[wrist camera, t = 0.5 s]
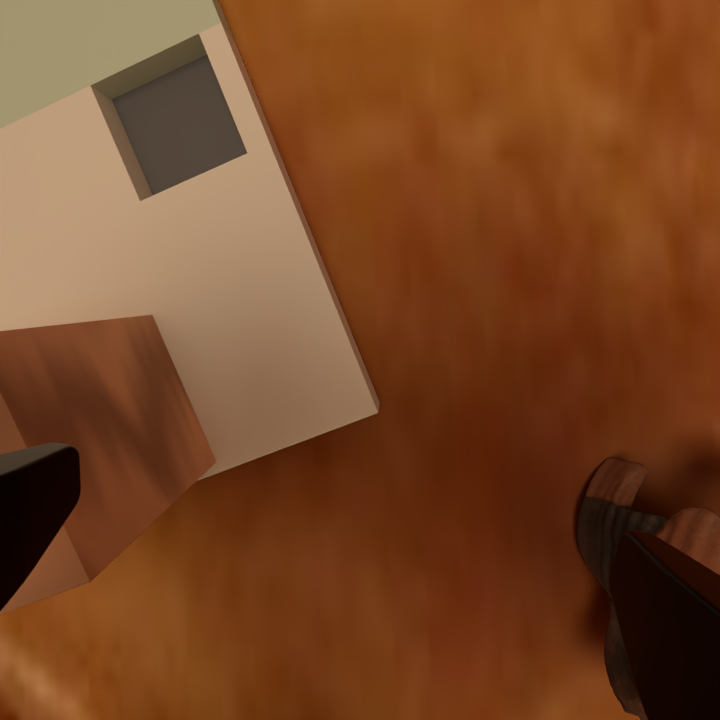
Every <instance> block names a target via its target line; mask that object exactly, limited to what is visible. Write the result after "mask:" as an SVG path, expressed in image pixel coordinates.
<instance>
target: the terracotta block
mask: <svg viewBox="0 0 720 720" xmlns="http://www.w3.org/2000/svg"><path fill="white" fill-rule="evenodd" d="M46 443H60V444H67V445H72V446H75V447H76V448H77V449H78V451H79V456H80V478H81V493H80V497H79V500H78V503H77V505H76V506H75V508H74V509H73V511H72V512H71V514H70V515H69V517H68V518H67V520H66V521H65V523H64V524H63V526H62V527H61V529H60V530H59V532H58V533H57V535H56V536H55V538H54V539H53V541H52V542H51V544H50V545H49V547H48V548H47V550H46V551H45V553H44V554H43V556H42V557H41V559H40V560H39V562H38V563H37V565H36V566H35V568H34V569H33V571H32V572H31V573H30V575H29V576H28V577H27V579H26V580H25V582H24V583H23V584H22V585H21V587H20V588H19V589H18V591H17V592H16V593H15V594H14V596H13V597H12V598H11V599H10V600H9V602H8V603H7V604H6V605H5V607H4V608H3V609H2V610H1V611H0V614H3V613H6V612H9V611H12V610H14V609H17V608H20V607H23V606H25V605H28V604H31V603H34V602H37V601H39V600H42V599H45V598H48V597H50V596H53V595H56V594H59V593H61V592H64V591H67V590H70V589H73V588H75V587H78V586H81V585H84V584H86V583H89V582H91V581H92V580H93V579H94V578H95V577H96V576H97V575H98V574H99V573H100V572H101V571H102V570H103V569H105V568H106V567H107V566H108V565H109V564H110V563H111V562H112V561H113V560H114V559H115V558H116V557H117V556H118V555H119V554H120V553H121V552H122V551H123V550H125V549H126V548H127V547H128V546H129V545H130V544H131V543H132V542H133V541H134V540H135V539H136V538H137V537H138V536H139V535H140V534H141V533H142V532H143V531H144V530H146V529H147V528H148V527H149V526H150V525H151V524H152V523H153V522H154V521H155V520H156V519H157V518H158V517H159V516H160V515H161V514H162V513H163V512H164V511H166V510H167V509H168V508H169V507H170V506H171V505H172V504H173V503H174V502H175V501H176V500H177V499H178V498H179V497H180V496H181V495H182V494H183V493H184V492H185V491H187V490H188V489H189V488H190V487H191V486H192V485H193V484H194V483H195V482H196V481H197V480H198V479H199V478H200V477H201V476H202V475H203V474H204V473H205V472H206V471H208V470H209V469H210V468H211V467H212V466H213V465H214V464H215V463H216V459H215V457H214V455H213V452H212V450H211V448H210V446H209V443H208V441H207V439H206V436H205V434H204V432H203V430H202V427H201V425H200V423H199V420H198V418H197V416H196V414H195V411H194V409H193V407H192V404H191V402H190V400H189V398H188V395H187V393H186V391H185V388H184V386H183V384H182V382H181V379H180V377H179V375H178V372H177V370H176V368H175V366H174V363H173V361H172V359H171V356H170V354H169V352H168V350H167V347H166V345H165V343H164V340H163V338H162V336H161V334H160V331H159V329H158V327H157V324H156V322H155V320H154V318H153V315H144V316H135V317H125V318H116V319H107V320H98V321H88V322H79V323H70V324H61V325H51V326H42V327H33V328H24V329H15V330H5V331H0V454H4V453H9V452H13V451H17V450H21V449H25V448H30V447H34V446H38V445H42V444H46Z"/></svg>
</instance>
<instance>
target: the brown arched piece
mask: <svg viewBox="0 0 720 720" xmlns="http://www.w3.org/2000/svg"><path fill="white" fill-rule="evenodd" d="M647 476H648V470H647V468H646V467H645V466H644V465H642V464H640V463H637V462H627V461H623V460H620V459H615V458H608V459H606V460H605V461H604V462H603V464H602V465H601V466H600V467H599V468H598V469H597V471H596V473H595V475H594V476H593V478H592V479H591V481H590V484H589V487H588V489H587V491H586V495H585V497H584V499H583V502H582V505H581V510H580V515H579V517H578V533H577V539H578V546H579V550H580V552H581V554H582V557H583V560H584V562H585V564H586V565H587V567H588V569H589V570H590V571H591V572H592V573H593V574H594V575H595V577H596V578H597V580H598V581H599V582H600V584H601V586H602V587H603V588H604V589H605V590H606V591H607V593H608V596H609V597H610V598H611V599H612V597H611V593H610V589H609V573H610V569H611V566H612V563H613V560H614V556H615V553H616V550H617V546H618V543H619V540H620V537H621V535H622V534H623V533H624V532H625V531H627V530H633V531H640V532H646V533H651V534H654V535H656V536H657V537H659V538H661V539H662V540H664V541H665V542H667V543H669V544H670V545H672V546H673V547H675V548H677V549H678V550H680V551H682V552H683V553H685V554H686V555H688V556H690V557H691V558H693V559H694V560H696V561H698V562H699V563H701V564H703V565H704V566H706V567H707V568H709V569H711V570H712V571H714V572H715V573H717V574H719V575H720V516H718V515H717V514H716V513H714V512H713V511H711V510H710V509H708V508H697V507H688V508H682V509H680V510H679V511H677V512H676V513H674V514H673V515H672V516H671V517H670V518H669V519H666V518H664V517H663V516H660V515H655V514H647V513H643V512H639V511H635V510H633V509H631V506H632V504H633V501H634V497H635V495H636V494H637V492H638V489H639V488H640V486H641V485H642V483H643V481H644V480H645V478H646V477H647ZM609 607H610V619H609V623H608V627H607V631H606V637H605V646H604V657H605V665H606V670H607V674H608V678H609V682H610V685H611V687H612V688H613V692H614V694H615V696H616V697H617V699H618V700H619V701H620V703H621V705H622V707H623V709H624V711H625V712H627V713H630V714H633V715H636V716H639V717H640V719H641V720H648V719H647V717H646V714H645V711H644V709H643V706H642V703H641V701H640V698H639V695H638V692H637V689H636V686H635V683H634V680H633V677H632V674H631V670H630V667H629V663H628V659H627V655H626V651H625V647H624V643H623V640H622V636H621V632H620V628H619V624H618V620H617V616H616V612H615V609H614V605H613V601H612V600H609Z"/></svg>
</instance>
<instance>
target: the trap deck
mask: <svg viewBox="0 0 720 720" xmlns="http://www.w3.org/2000/svg"><path fill="white" fill-rule="evenodd" d="M199 35H200V38H201V40H202V43H203V45H204V48H205V50H206V52H207V55H205V56H203V57H201V58H198V59H196V60H194V61H192V62H190V63H188V64H186V65H184V66H182V67H179V68H177V69H175V70H173V71H171V72H169V73H167V74H165V75H163V76H161V77H158V78H156V79H154V80H152V81H150V82H148V83H146V84H144V85H142V86H139V87H137V88H135V89H133V90H131V91H129V92H127V93H125V94H123V95H120V96H118V97H116V98H114V99H110V98H108V97H107V96H105V95H104V94H102V93H101V92H99V91H98V90H96V89H95V88H93V87H92V86H88V87H86V88H84V89H82V90H80V91H78V92H76V93H74V94H72V95H70V96H67V97H65V98H63V99H61V100H59V101H57V102H55V103H53V104H51V105H49V106H47V107H45V108H42V109H40V110H38V111H36V112H34V113H32V114H30V115H28V116H26V117H24V118H22V119H20V120H18V121H15V122H13V123H11V124H9V125H7V126H5V127H3V128H1V129H0V331H5V330H15V329H24V328H33V327H42V326H51V325H61V324H70V323H79V322H88V321H98V320H107V319H116V318H125V317H135V316H144V315H153V318H154V320H155V322H156V324H157V327H158V329H159V331H160V334H161V336H162V338H163V340H164V343H165V345H166V347H167V350H168V352H169V354H170V356H171V359H172V361H173V363H174V366H175V368H176V370H177V372H178V375H179V377H180V379H181V382H182V384H183V386H184V388H185V391H186V393H187V395H188V398H189V400H190V402H191V404H192V407H193V409H194V411H195V414H196V416H197V418H198V420H199V423H200V425H201V427H202V430H203V432H204V434H205V436H206V439H207V441H208V443H209V446H210V448H211V450H212V452H213V455H214V457H215V459H216V463H215V464H214V465H213V466H212V467H211V468H210V469H209V470H208V471H206V472H205V473H204V474H203V475H202V476H201V477H200V478H199V479H198V480H201V479H204V478H206V477H209V476H212V475H214V474H217V473H220V472H222V471H225V470H227V469H230V468H233V467H235V466H238V465H241V464H243V463H246V462H249V461H251V460H254V459H257V458H259V457H262V456H265V455H267V454H270V453H273V452H275V451H278V450H281V449H283V448H286V447H289V446H291V445H294V444H297V443H299V442H302V441H305V440H307V439H310V438H313V437H315V436H318V435H321V434H323V433H326V432H329V431H331V430H334V429H337V428H339V427H342V426H345V425H347V424H350V423H353V422H355V421H358V420H361V419H363V418H366V417H369V416H371V415H374V414H377V413H378V411H379V405H380V402H379V400H378V397H377V395H376V392H375V390H374V387H373V385H372V382H371V380H370V377H369V375H368V372H367V370H366V367H365V365H364V362H363V360H362V357H361V355H360V352H359V350H358V347H357V345H356V342H355V340H354V337H353V335H352V333H351V330H350V328H349V325H348V323H347V320H346V318H345V315H344V313H343V310H342V308H341V305H340V303H339V300H338V298H337V295H336V293H335V290H334V288H333V285H332V283H331V280H330V278H329V275H328V273H327V270H326V268H325V265H324V263H323V260H322V258H321V255H320V253H319V250H318V248H317V245H316V243H315V240H314V238H313V235H312V233H311V230H310V228H309V225H308V223H307V220H306V218H305V215H304V213H303V210H302V208H301V205H300V203H299V200H298V198H297V195H296V193H295V190H294V188H293V185H292V183H291V180H290V178H289V176H288V173H287V171H286V168H285V166H284V163H283V161H282V158H281V156H280V153H279V151H278V148H277V146H276V143H275V141H274V138H273V136H272V133H271V131H270V128H269V126H268V123H267V121H266V118H265V116H264V113H263V111H262V108H261V106H260V103H259V101H258V98H257V96H256V93H255V91H254V88H253V86H252V83H251V81H250V78H249V76H248V73H247V71H246V68H245V66H244V63H243V61H242V58H241V56H240V53H239V51H238V48H237V46H236V44H235V42H234V41H233V39H232V38H231V37H230V35H229V34H228V32H227V31H226V29H225V28H224V26H223V25H222V23H219V24H217V25H215V26H213V27H211V28H209V29H207V30H205V31H203V32H201V33H199ZM198 480H197V481H198Z"/></svg>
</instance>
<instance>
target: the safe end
mask: <svg viewBox="0 0 720 720" xmlns="http://www.w3.org/2000/svg"><path fill="white" fill-rule="evenodd" d="M219 23H222V25H223V26H224V28H225V29H226V31H227V32H228V34H229V35H230V37H231V38H232V39H233V41H234V38H233V36H232V34H231V31H230V29H229V26H228V24H227V21H226V19H225V16H224V14H223V11H222V9H221V6H220V4H219V1H218V0H0V129H1V128H3V127H5V126H7V125H9V124H11V123H13V122H15V121H18V120H20V119H22V118H24V117H26V116H28V115H30V114H32V113H34V112H36V111H38V110H40V109H42V108H45V107H47V106H49V105H51V104H53V103H55V102H57V101H59V100H61V99H63V98H65V97H67V96H70V95H72V94H74V93H76V92H78V91H80V90H82V89H84V88H86V87H88V86H92V87H93V88H95V89H96V90H98V91H99V92H101V93H102V94H104V95H105V96H107V97H108V98H110V99H114V98H116V97H118V96H120V95H123V94H125V93H127V92H129V91H131V90H133V89H135V88H137V87H139V86H142V85H144V84H146V83H148V82H150V81H152V80H154V79H156V78H158V77H161V76H163V75H165V74H167V73H169V72H171V71H173V70H175V69H177V68H179V67H182V66H184V65H186V64H188V63H190V62H192V61H194V60H196V59H198V58H201V57H203V56H205V55H207V52H206V50H205V48H204V45H203V43H202V40H201V38H200V35H199V33H201V32H203V31H205V30H207V29H209V28H211V27H213V26H215V25H217V24H219ZM234 42H235V41H234ZM235 44H236V43H235Z"/></svg>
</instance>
